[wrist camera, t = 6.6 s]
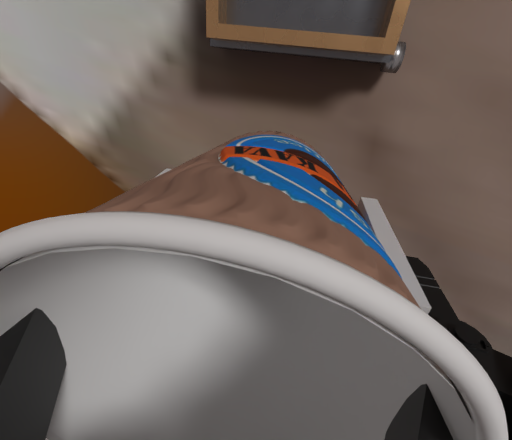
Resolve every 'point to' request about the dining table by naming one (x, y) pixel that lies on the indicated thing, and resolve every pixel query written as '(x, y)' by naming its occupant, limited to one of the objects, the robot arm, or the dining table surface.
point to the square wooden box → (312, 28)
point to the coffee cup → (236, 309)
